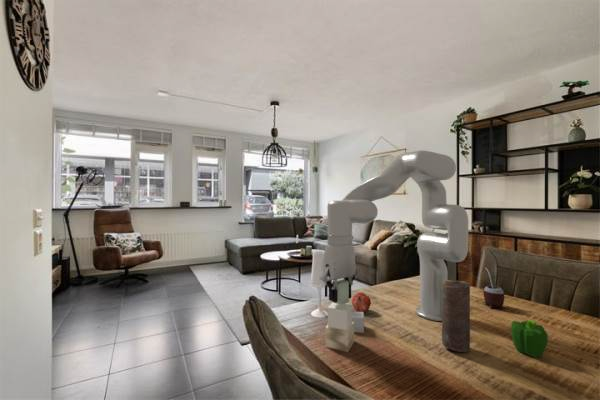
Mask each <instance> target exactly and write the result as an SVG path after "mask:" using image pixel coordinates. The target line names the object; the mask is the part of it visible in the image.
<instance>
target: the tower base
mask: <svg viewBox="0 0 600 400" xmlns="http://www.w3.org/2000/svg"><path fill="white" fill-rule="evenodd" d="M324 329H325V330H324V331H325V338H324V339H325V348H329V349H333V350H337V351H340V352H345V353H349V351H350V349H351V348H352V345H353V344H354V342H355V332H354V322H352V324H351V325H350V327H349V329H348V330H347V331H344V330H339V329H334V328H329V327H328V324H326V326H325V328H324Z"/></svg>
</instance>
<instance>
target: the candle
mask: <svg viewBox="0 0 600 400" xmlns="http://www.w3.org/2000/svg"><path fill="white" fill-rule="evenodd" d="M470 305H471V284H470V283H469V282H467V281H463V280H462V281H461V280H450V279H447V281H444V282H443V297H442V321H441V343H442V346H444V347H445V348H446V349H448V350H449V349H450V350H452V351H455V352H458V353H462V352H469V351H470V349H471V347H470V345H471V317H470V316H471V308H470V307H471V306H470Z"/></svg>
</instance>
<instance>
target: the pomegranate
mask: <svg viewBox="0 0 600 400" xmlns="http://www.w3.org/2000/svg"><path fill="white" fill-rule="evenodd" d="M351 304H352V308H353V309H354V310H355V311H356V312H363V313H366V312H368V311H369V309H370V307H371V305H372V301H371V298H370V297H369V296H368V295H367V294H366V293H365V292H358V293H356V294H354V295H353V296H352V298H351Z"/></svg>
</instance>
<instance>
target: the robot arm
mask: <svg viewBox="0 0 600 400" xmlns="http://www.w3.org/2000/svg"><path fill="white" fill-rule="evenodd" d="M456 171H457V165H456V162H455V159H453V158H452V157H451V156H450V155H447V154H443V153H437V152H434V151H428V150H416V151H409V152H405V153H400V154H397V155H396V156H395V157H394V158H393V159H392V160H391V161H390V162H388V163H387V165H386V166H385V167H384V168H382V170H380V171H379V173H377V174H376V175H375V176H373V177H371V178H370V179H368V180H366V181H365V182H363V183H362V184H360V185H358V186H356V187H355V188H353V189H352V190H351V191H350V192H349V193H347V194H346V195H345V196H344V197H343V198H342V199H341V200H331V201H329V202H328V203H327V207H326V209H327V213H326V214H327V244H326V245H325V247H324V251H323V252H324V257H323V274H322V276H321V278H320V280H321V281H322V282H324V283H325V284H326V285H325V287H326V288H328V300H329V301H330V302H331V303H332V302H334V303H336V302H337V289H336V284H337V279H344V280H347V281H349V300H350V299H352V286H353V284H354V280H355V279H356V277H357V275H358V274H359V270H358V269H357V268H356V253H355V248H354V247H355V246H354V244H353V240H354V236H353V224H354V223H355V224H365V225H366V224H370V223H372V222H373V221H374V220H376V218H377V216H378V211H379V210H378V208H377V205H376V204H375V202H374V201H376V200H378V201H379V200H381V199H385V198H387V197H390V196H392V195H394V194H396V192H397V191H398V190H399V189H400V188H401V187H402V186H403V185H404V184H405V183H406V182H407V180H409V179H410V178H411V179H412V180H413V181H414V182H415V183H416V184H417V186H418V188H419V189H420V192H421V222H422V225H424V227H425V228H428V229H431V230H432V229H433V230H439V231H440V230H443V231H447V233H443V232H434V231H427V232H423V233H421V234H420V235H419V236H418V239H417V242H416V246H417V252H418V256H419V306H416V307H415V313H416V314H417V315H418V316H419V317H421V318H422V319H423V318H424V319H426V320H430V321H433V322H434V321H436V322H442V297H443V282H444V281H447V280H448V276H449V275H448V268H447V264H446V262H445V261H448V262H454V263H460V262H463V261H464V260H465V259H466V258H467V255H468V251H469V215H468V213H467V210H466V209H465V208H464V207H463V206H461V205H459V204H448V203H447V190H446V188H445V186H444V184H443V183H442V182H441V181H448V180H450V179H452V178H453V177H454V176H455V174H456ZM444 260H445V261H444ZM327 277H328V279H327ZM332 280H333V283H332Z"/></svg>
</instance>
